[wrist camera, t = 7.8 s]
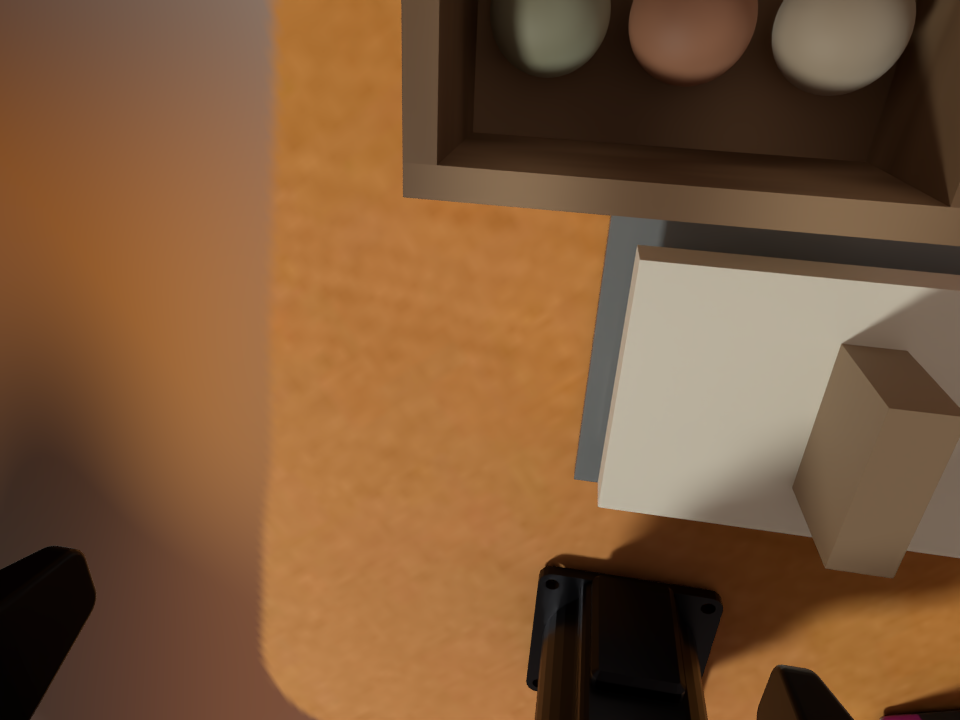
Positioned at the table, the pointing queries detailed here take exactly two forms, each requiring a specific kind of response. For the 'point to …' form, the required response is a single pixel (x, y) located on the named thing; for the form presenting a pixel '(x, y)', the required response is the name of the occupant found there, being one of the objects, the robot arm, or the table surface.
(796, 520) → the lid
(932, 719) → the candy bar box
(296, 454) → the table surface
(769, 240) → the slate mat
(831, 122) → the box
